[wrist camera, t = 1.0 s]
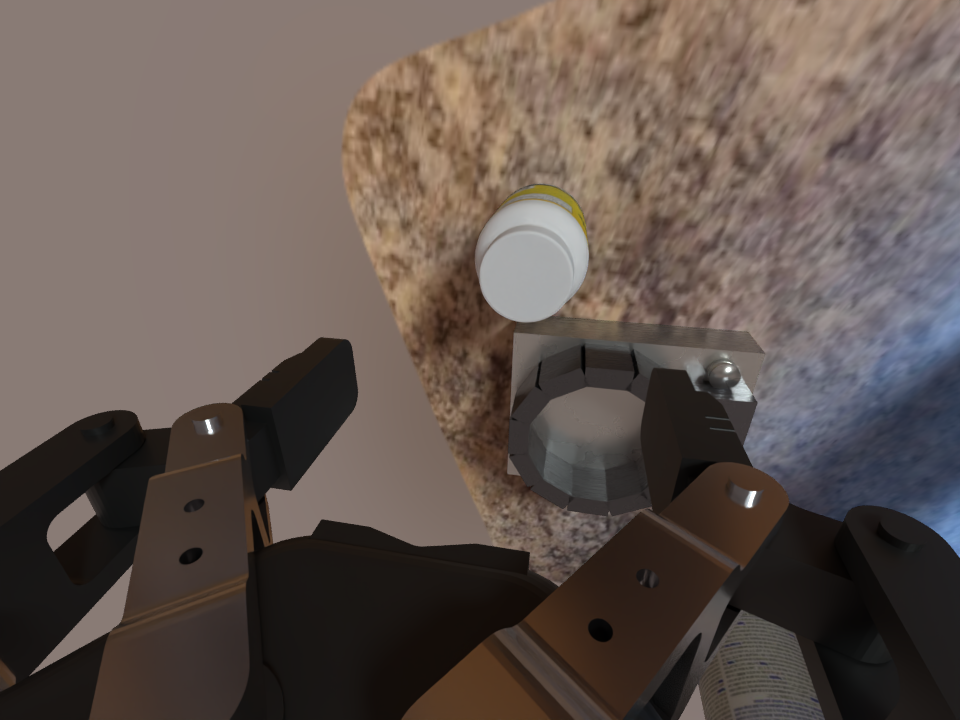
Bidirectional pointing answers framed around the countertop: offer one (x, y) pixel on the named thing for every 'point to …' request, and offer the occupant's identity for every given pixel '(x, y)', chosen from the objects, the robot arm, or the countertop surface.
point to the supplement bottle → (532, 253)
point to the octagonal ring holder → (610, 402)
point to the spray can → (759, 676)
